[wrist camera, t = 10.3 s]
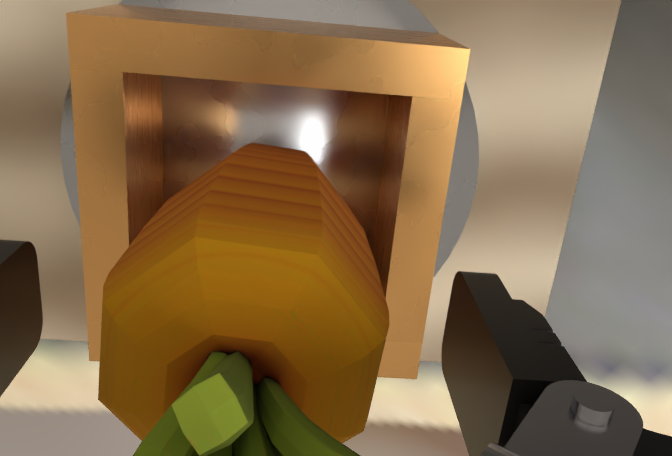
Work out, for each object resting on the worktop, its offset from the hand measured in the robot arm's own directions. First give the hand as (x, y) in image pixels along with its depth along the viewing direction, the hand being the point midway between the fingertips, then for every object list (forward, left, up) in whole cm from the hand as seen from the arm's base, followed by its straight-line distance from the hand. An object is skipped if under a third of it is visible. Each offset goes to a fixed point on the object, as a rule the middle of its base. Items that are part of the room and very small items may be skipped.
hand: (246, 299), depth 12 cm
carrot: (0, 0, -8) cm, 8 cm away
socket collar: (0, 0, -9) cm, 9 cm away
